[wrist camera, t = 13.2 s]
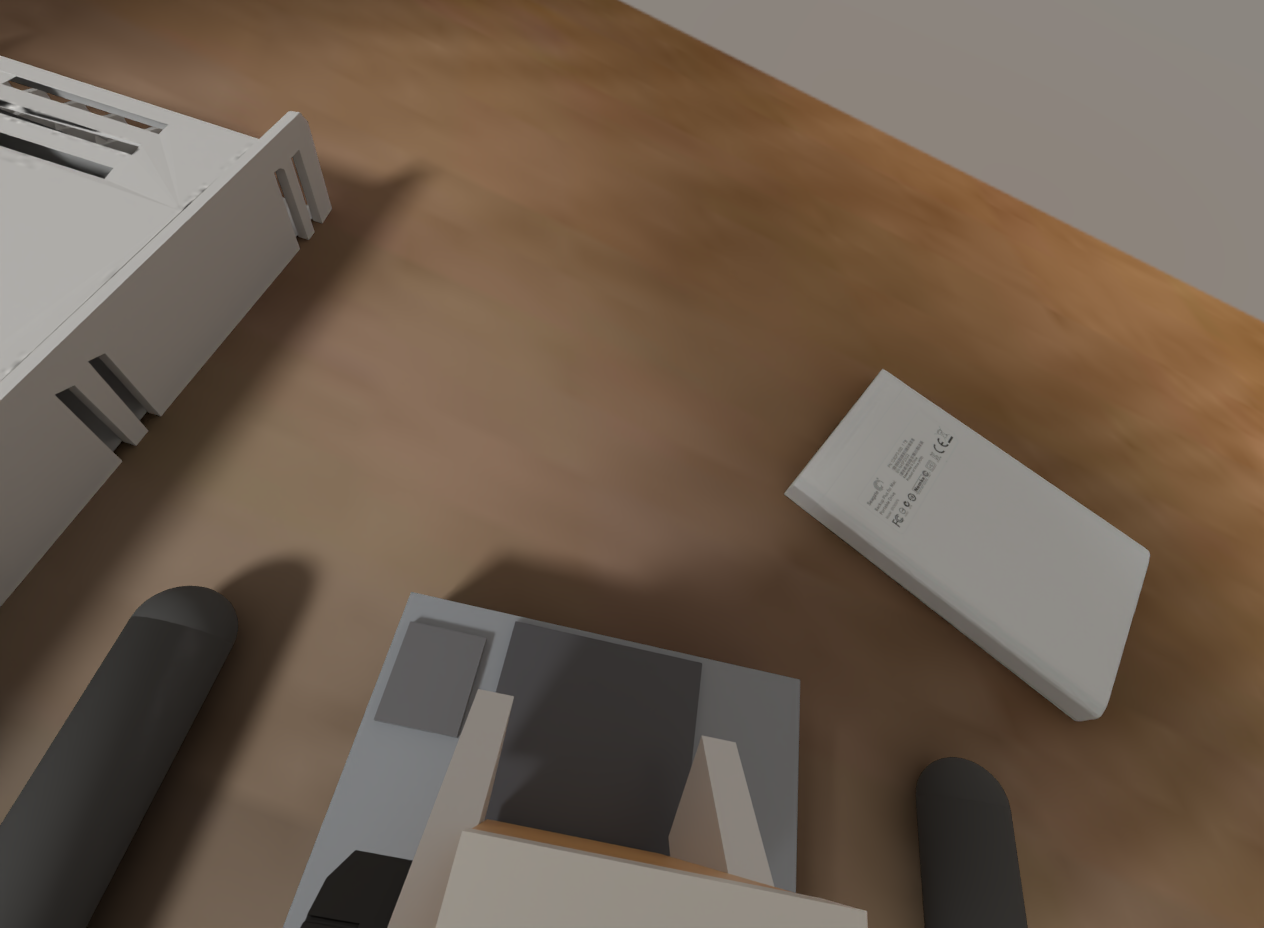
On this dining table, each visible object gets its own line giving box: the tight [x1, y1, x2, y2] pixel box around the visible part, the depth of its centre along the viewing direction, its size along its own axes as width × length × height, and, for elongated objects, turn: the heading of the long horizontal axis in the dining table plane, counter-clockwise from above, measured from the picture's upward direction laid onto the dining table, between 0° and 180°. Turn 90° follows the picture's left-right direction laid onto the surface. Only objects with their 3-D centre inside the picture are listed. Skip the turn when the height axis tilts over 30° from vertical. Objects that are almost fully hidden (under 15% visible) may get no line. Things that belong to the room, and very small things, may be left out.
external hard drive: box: [784, 369, 1150, 721], centre depth 23 cm, size 2×8×12 cm
